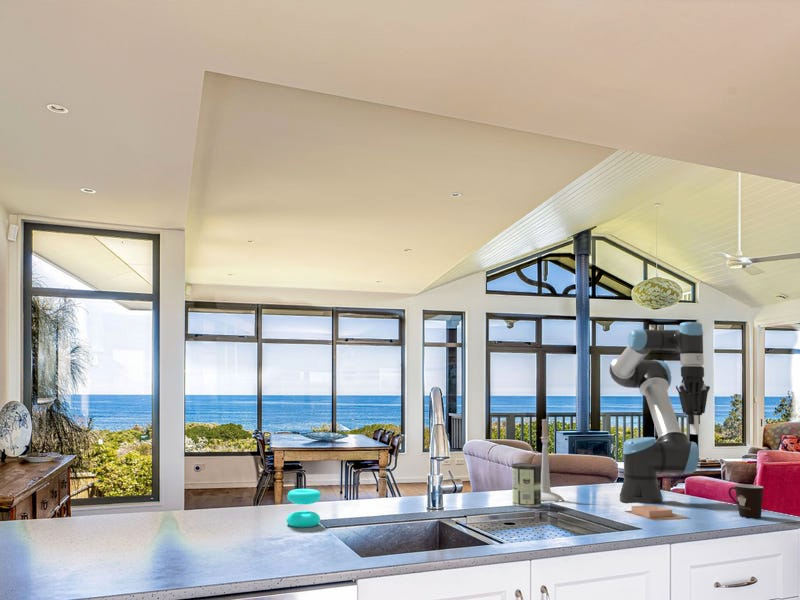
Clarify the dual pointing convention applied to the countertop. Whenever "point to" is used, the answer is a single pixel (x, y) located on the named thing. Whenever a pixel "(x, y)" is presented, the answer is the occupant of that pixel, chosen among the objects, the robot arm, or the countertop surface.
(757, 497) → the coffee mug
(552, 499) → the candlestick
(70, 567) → the countertop surface
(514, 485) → the coffee can
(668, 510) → the tile
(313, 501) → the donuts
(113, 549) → the countertop surface
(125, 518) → the countertop surface
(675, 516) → the board
